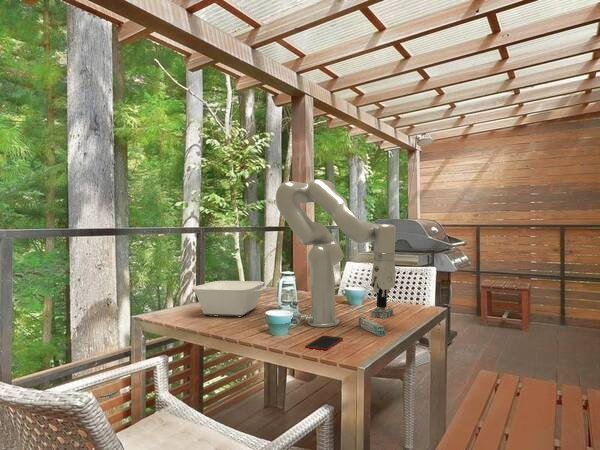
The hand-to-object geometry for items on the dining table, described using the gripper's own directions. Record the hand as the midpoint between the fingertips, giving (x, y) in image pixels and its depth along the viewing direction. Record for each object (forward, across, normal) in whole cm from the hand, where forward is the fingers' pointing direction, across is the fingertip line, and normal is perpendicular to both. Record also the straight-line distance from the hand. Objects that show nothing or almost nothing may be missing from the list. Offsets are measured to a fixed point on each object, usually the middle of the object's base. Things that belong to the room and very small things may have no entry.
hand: (381, 306), depth 156 cm
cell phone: (+10, -27, +5) cm, 29 cm away
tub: (+14, -14, +69) cm, 72 cm away
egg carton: (+9, +21, +11) cm, 26 cm away
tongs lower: (+9, -3, +2) cm, 9 cm away
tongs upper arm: (+7, -5, +1) cm, 8 cm away
